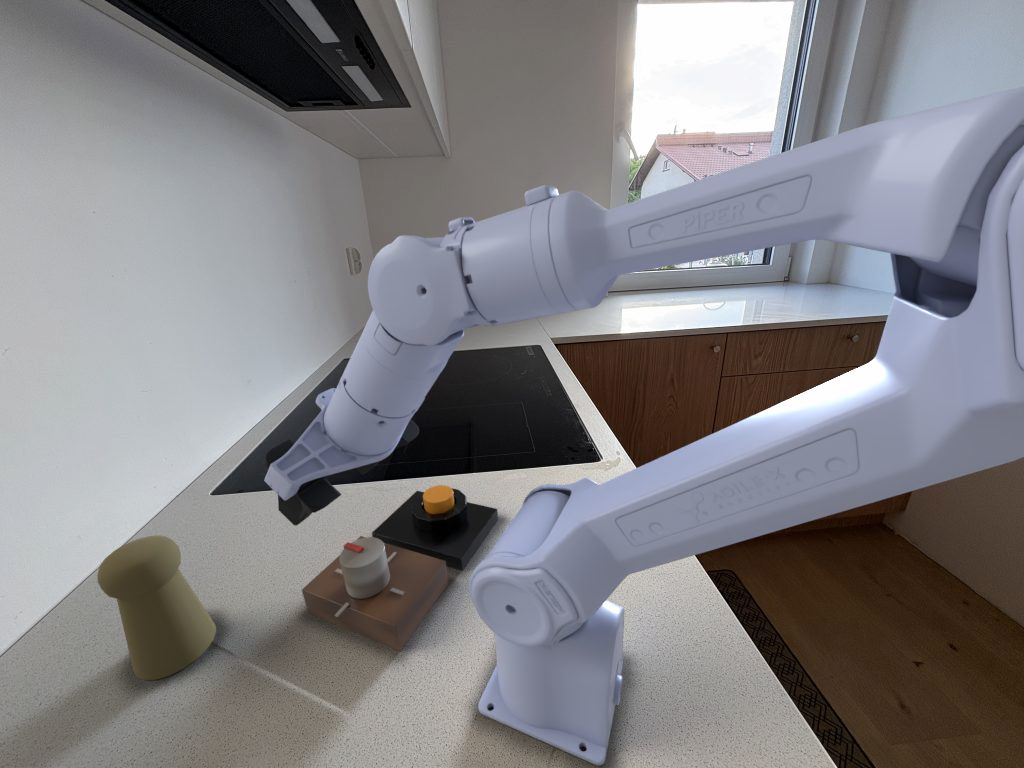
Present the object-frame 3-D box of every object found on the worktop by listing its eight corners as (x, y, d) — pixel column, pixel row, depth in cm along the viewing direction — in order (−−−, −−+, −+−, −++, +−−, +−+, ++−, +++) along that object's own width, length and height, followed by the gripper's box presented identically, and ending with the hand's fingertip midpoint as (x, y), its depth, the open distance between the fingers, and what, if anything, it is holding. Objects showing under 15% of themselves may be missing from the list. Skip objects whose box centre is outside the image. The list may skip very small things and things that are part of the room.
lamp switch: (498, 520, 53) (496, 496, 51) (462, 571, 45) (459, 544, 44) (418, 501, 57) (415, 478, 56) (373, 544, 49) (368, 519, 48)
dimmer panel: (448, 583, 43) (445, 559, 42) (392, 663, 35) (386, 635, 34) (365, 557, 48) (360, 534, 46) (298, 623, 40) (291, 597, 39)
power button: (460, 500, 52) (458, 488, 51) (444, 518, 49) (442, 505, 48) (435, 494, 53) (433, 482, 52) (418, 511, 50) (416, 499, 49)
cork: (116, 687, 35) (61, 584, 31) (158, 625, 40) (116, 531, 37) (196, 671, 36) (153, 568, 32) (227, 612, 41) (193, 519, 38)
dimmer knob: (398, 572, 41) (392, 540, 40) (370, 604, 38) (363, 570, 36) (366, 562, 43) (360, 530, 41) (337, 591, 39) (328, 558, 38)
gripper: (405, 327, 37) (353, 423, 44) (251, 386, 24) (213, 506, 31) (464, 380, 36) (402, 469, 43) (337, 468, 24) (280, 571, 31)
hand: (326, 488), depth 37 cm, fingers open, 7 cm apart
